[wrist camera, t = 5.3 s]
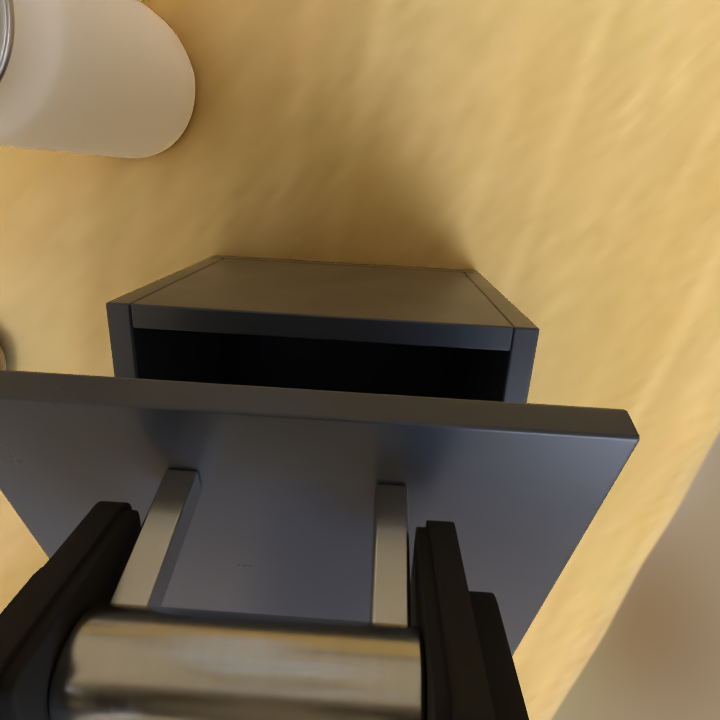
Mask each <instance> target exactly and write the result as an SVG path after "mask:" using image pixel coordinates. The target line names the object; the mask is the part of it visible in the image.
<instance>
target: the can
mask: <svg viewBox="0 0 720 720" xmlns="http://www.w3.org/2000/svg"><path fill="white" fill-rule="evenodd" d="M194 101H195V77H194V72H193V69H192V65H191V62H190V60H189V57H188V55H187V53H186V51H185V49H184V47H183V45H182V43H181V42H180V40H179V38H178V37H177V35H176V34H175V33H174V31H173V30H172V29H171V28H170V26H169V25H168V24H167V23H166V22H165V21H164V20H163V19H162V18H160V17H159V16H158V15H157V14H156V13H154V12H153V11H152V10H151V9H149V8H148V7H147V6H146V5H144V4H143V3H142V2H140V1H139V0H0V146H7V147H16V148H26V149H36V150H46V151H56V152H67V153H77V154H88V155H99V156H110V157H122V158H143V157H149V156H153V155H156V154H158V153H160V152H162V151H164V150H166V149H167V148H169V147H170V146H171V145H173V144H174V143H175V142H176V141H177V140H178V139H179V137H180V136H181V135H182V134H183V132H184V131H185V129H186V127H187V125H188V123H189V121H190V118H191V115H192V112H193V107H194Z"/></svg>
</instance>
